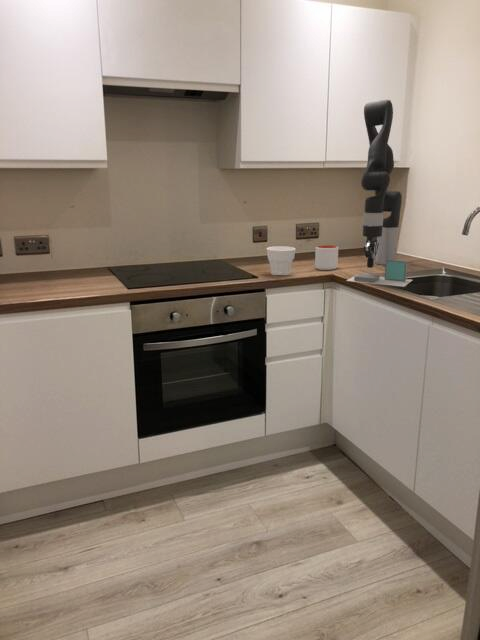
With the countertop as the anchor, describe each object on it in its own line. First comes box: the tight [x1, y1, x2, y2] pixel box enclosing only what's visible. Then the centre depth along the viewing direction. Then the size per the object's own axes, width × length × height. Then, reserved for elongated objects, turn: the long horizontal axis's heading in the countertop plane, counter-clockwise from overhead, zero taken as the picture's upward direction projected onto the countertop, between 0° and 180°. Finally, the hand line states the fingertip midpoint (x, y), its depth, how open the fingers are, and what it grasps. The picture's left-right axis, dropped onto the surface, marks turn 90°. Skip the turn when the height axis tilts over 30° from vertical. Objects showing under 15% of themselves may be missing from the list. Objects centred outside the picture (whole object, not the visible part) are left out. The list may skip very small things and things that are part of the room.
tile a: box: [354, 272, 381, 284], centre depth 206 cm, size 2×8×8 cm
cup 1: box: [266, 245, 296, 276], centre depth 221 cm, size 12×12×11 cm
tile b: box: [384, 259, 408, 282], centre depth 205 cm, size 2×8×8 cm, turn 60°
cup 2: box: [314, 244, 339, 271], centre depth 231 cm, size 10×10×10 cm
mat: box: [345, 274, 413, 288], centre depth 206 cm, size 14×23×1 cm, turn 59°
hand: (370, 267), depth 208 cm, fingers closed
